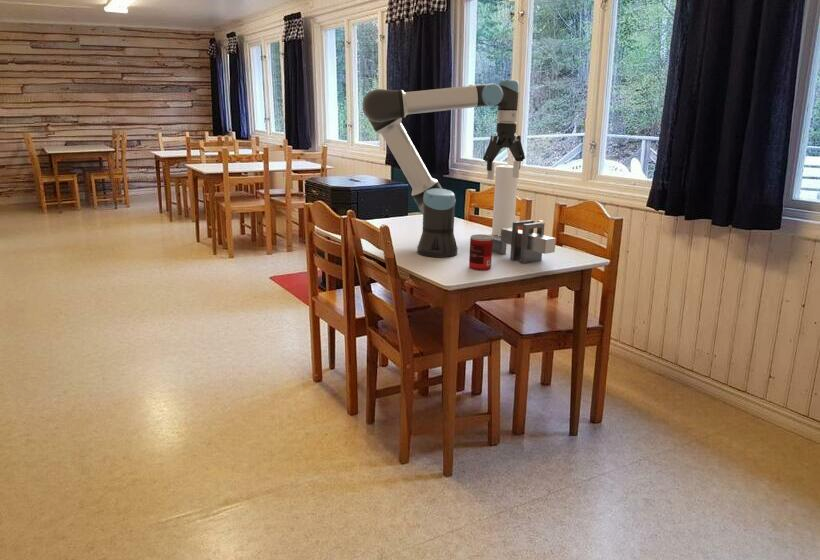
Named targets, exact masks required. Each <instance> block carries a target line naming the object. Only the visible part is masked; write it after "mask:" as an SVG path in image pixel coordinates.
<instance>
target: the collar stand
mask: <svg viewBox="0 0 820 560" xmlns="http://www.w3.org/2000/svg"><path fill="white" fill-rule="evenodd" d="M545 226H546V225H545V220H537V222H535V220H534V219H527V220H518V221H515V222H513V227H512V241H511V245H510V258H509V260H510V261H512V262H515V261H519V263H520V264H521V265H523V264H530V263H536V262H541V261H543V259H542V258H543V257H542V256H543V253H540V252H536V251H532V250H529V249H527V243H528V232H532V233H534V229H536V234H540V235H544V236H545ZM519 227H522V230H523V231H522V244H521V247H517V238H518V229H519Z"/></svg>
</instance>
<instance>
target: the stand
mask: <svg viewBox="0 0 820 560" xmlns="http://www.w3.org/2000/svg"><path fill="white" fill-rule="evenodd" d="M492 237H493V236H492ZM500 240H501V238H497V237H495V236H494V237H493V246H492V253H495V254H499V255H505V254H507V246H508V244H506V243H502V242H500Z"/></svg>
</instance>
